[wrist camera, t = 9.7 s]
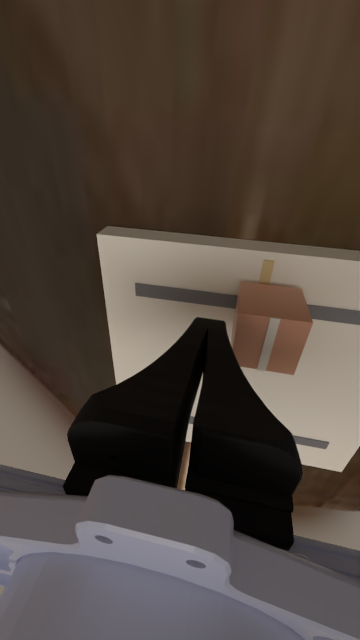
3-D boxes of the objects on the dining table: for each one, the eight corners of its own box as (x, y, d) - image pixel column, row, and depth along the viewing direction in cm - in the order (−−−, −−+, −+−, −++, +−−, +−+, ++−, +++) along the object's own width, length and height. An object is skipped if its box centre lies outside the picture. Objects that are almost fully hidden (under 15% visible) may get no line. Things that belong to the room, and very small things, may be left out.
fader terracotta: (301, 288, 14) (313, 323, 12) (286, 336, 16) (294, 376, 13) (240, 281, 14) (238, 313, 12) (232, 328, 16) (229, 365, 14)
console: (458, 260, 14) (481, 274, 13) (336, 454, 24) (341, 473, 22) (107, 225, 16) (95, 234, 15) (127, 414, 26) (121, 429, 25)
